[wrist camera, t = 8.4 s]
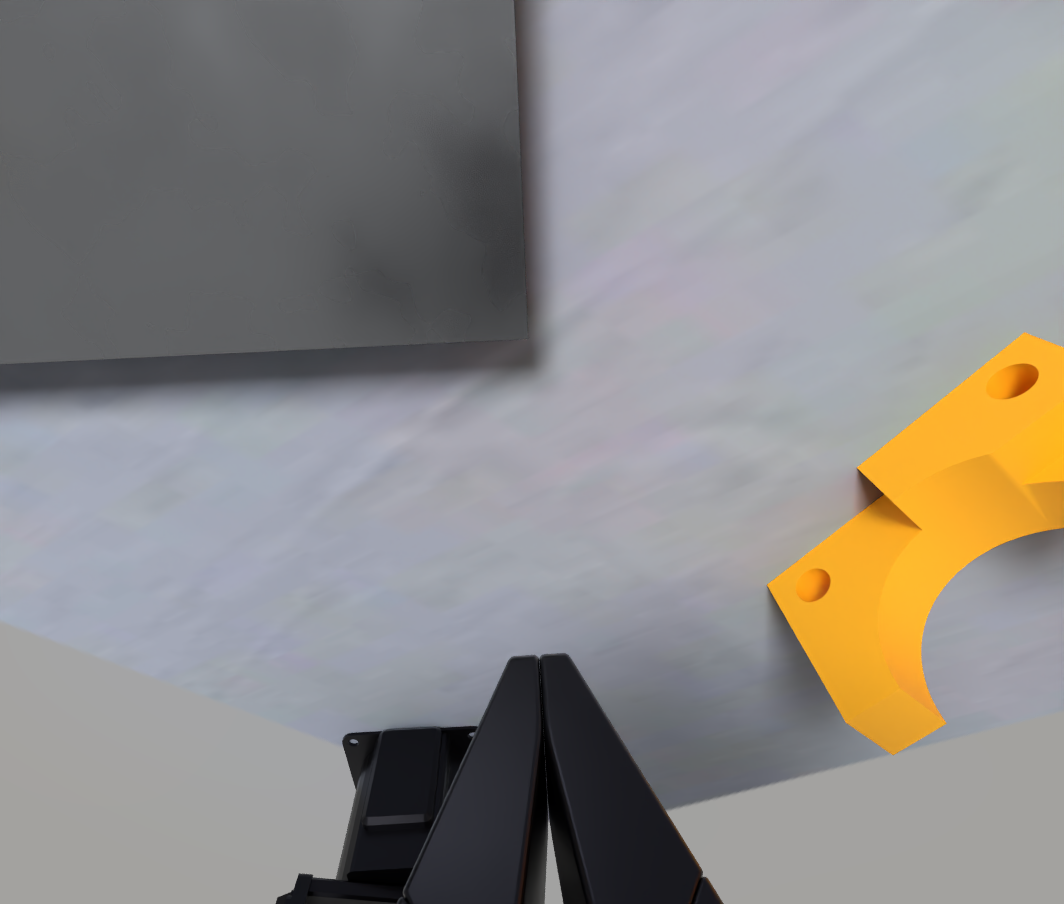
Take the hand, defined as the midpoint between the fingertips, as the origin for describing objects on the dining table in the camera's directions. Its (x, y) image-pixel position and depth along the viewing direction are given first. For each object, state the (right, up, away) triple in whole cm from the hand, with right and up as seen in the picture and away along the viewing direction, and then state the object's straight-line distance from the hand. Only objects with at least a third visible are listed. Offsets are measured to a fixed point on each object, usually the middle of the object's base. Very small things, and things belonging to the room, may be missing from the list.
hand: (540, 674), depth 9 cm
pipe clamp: (+13, +2, +14) cm, 19 cm away
